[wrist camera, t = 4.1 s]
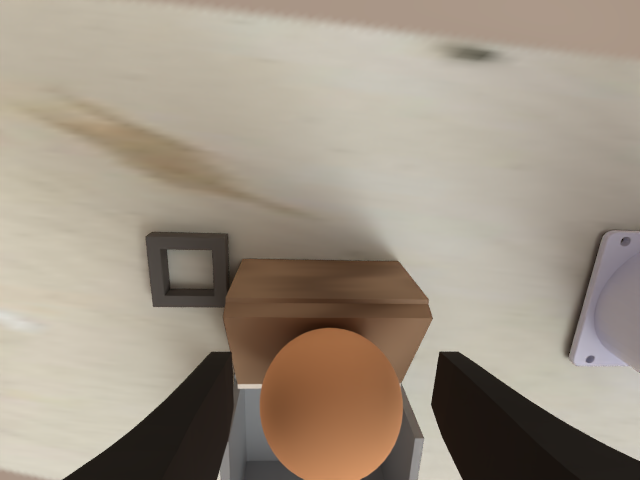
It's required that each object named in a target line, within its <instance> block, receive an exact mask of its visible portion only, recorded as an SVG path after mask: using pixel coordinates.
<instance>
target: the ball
mask: <svg viewBox="0 0 640 480" xmlns="http://www.w3.org/2000/svg"><path fill="white" fill-rule="evenodd" d="M402 415H403V399H402V392H401V388H400V384H399V380H398V378H397V375H396V373H395V370H394V369H393V367H392V365H391V363H390V362H389V360H388V359H387V357H386V356H385V355H384V354H383V352H382V351H381V350H380V349H379V348H378V347H377V346H376V345H374V344H373V343H372V342H371V341H369V340H368V339H366V338H365V337H363V336H361V335H359V334H357V333H355V332H352V331H348V330H345V329H339V328H322V329H316V330H312V331H309V332H306V333H304V334H302V335H300V336H298V337H296V338H295V339H293V340H292V341H290V342H289V343H288V344H287V345H285V346H284V347H283V348H282V349H281V350H280V352H279V353H278V354H277V355H276V356H275V358H274V359H273V361H272V362H271V364H270V366H269V368H268V370H267V372H266V375H265V377H264V380H263V384H262V388H261V394H260V418H261V424H262V428H263V432H264V435H265V437H266V440H267V442H268V444H269V446H270V448H271V449H272V451H273V453H274V454H275V455H276V457H277V458H278V459H279V461H280V462H281V463H282V464H283V465H284V466H285V467H286V468H287V469H288V470H290V471H291V472H292V473H294V474H295V475H297V476H298V477H300V478H302V479H304V480H360V479H362V478H364V477H366V476H368V475H369V474H370V473H372V472H373V471H374V470H376V469H377V468H378V467H379V466H380V465H381V464H382V463H383V462H384V461H385V459H386V458H387V456H388V455H389V454H390V452H391V450H392V448H393V447H394V445H395V443H396V440H397V437H398V435H399V432H400V428H401V423H402Z"/></svg>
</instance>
